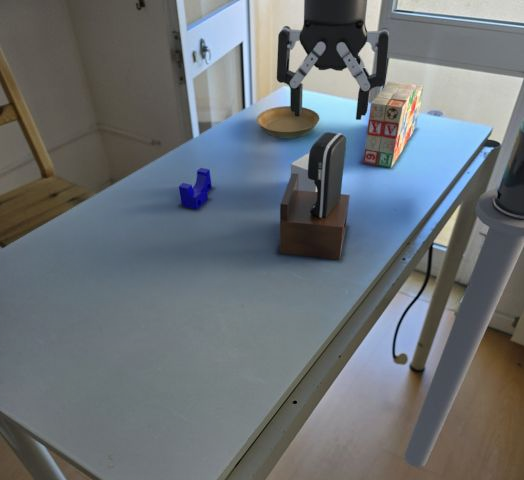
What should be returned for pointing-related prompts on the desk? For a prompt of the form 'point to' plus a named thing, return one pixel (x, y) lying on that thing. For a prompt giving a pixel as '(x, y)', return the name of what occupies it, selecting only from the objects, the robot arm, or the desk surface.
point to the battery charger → (327, 171)
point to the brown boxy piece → (310, 224)
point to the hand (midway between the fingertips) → (328, 116)
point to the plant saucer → (287, 122)
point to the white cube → (303, 174)
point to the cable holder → (196, 190)
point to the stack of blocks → (391, 122)
